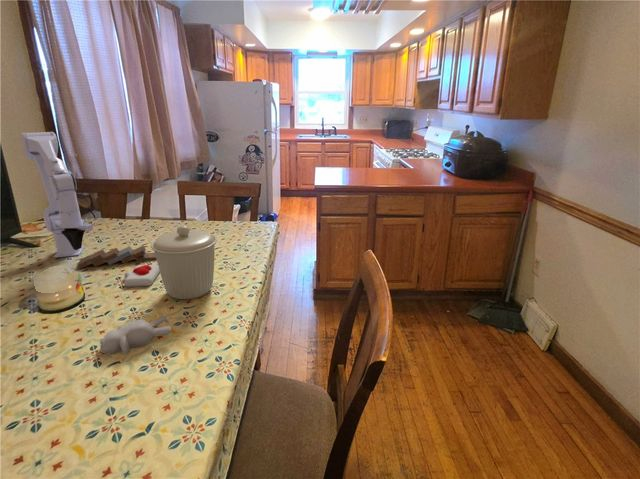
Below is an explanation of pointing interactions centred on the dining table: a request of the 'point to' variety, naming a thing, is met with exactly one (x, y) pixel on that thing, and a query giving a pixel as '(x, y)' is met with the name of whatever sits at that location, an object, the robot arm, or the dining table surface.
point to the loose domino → (121, 255)
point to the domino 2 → (107, 257)
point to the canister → (186, 261)
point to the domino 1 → (91, 259)
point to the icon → (141, 275)
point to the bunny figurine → (132, 336)
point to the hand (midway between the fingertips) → (77, 248)
